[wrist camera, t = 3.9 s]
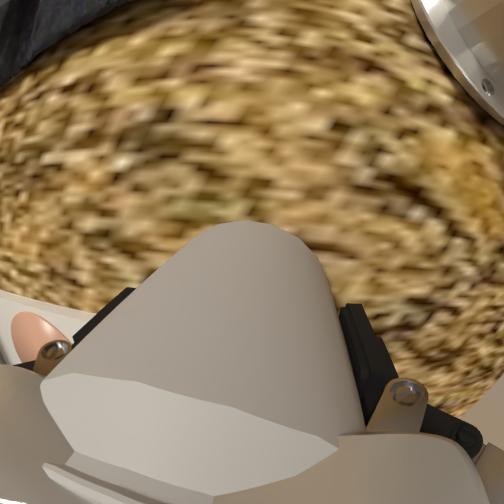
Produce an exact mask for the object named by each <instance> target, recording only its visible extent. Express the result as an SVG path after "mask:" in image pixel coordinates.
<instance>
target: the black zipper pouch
mask: <svg viewBox="0 0 504 504" xmlns="http://www.w3.org/2000/svg"><path fill="white" fill-rule="evenodd" d="M131 1H134V0H0V86H1V85H3V84H4V83H6V82H7V81H8V80H9V79H10V78H11V77H12V76H14V75H16V74H18V73H19V71H20V70H21V69H22V67H23V66H25V67H27V65H28V64H29V63H30V62H31V61H32V60H33V58H34V57H35V56H36V55H37V54H39V53H40V52H42V51H43V50H45V49H47V48H48V47H50V46H52V45H54V44H56V43H58V42H59V41H60V40H61V39H62V38H63V37H64V36H66V35H67V36H68V35H70V34H72V33H74V31H76V30H77V29H78V28H79V27H81V26H82V25H87V24H88V23H89V22H91V21H93V20H94V19H96V18H98V17H100V16H104V15H106V14H108V13H109V12H111V11H112V10H114V9H115V8H117V7H118V6H120V5H122V4H126V3H128V2H131Z"/></svg>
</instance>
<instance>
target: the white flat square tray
mask: <svg viewBox="0 0 504 504" xmlns="http://www.w3.org/2000/svg"><path fill="white" fill-rule="evenodd" d="M95 315H96V314H95V313H90V312H85V311H81V310H76V309H72V308H67V307H63V306H59V305H55V304H50V303H46V302H43V301H39V300H35V299H31V298H27V297H24V296H20V295H17V294H13V293H10V292H6V291H3V290H0V351H1V353H2V355H3V358H4V360H5V362H6V364H7V365H16V364H20V363H25V362H29V361H33V360H36V358H37V355H38V352H39V350H40V348H41V347H42V346H43V345H45V344H46V343H48V342H51V341H54V340H65V341H67V342H69V343H70V344H71V345H72V344H73V343H74V341H73V338H72V336H73V335H74V334H75V333H76V332H77V331H79V330H80V329H81V328H82V327H83V326H84V325H85V324H86V323H87V322H88V321H89V320H91V319H92V318H93V317H94V316H95Z"/></svg>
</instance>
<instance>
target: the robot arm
mask: <svg viewBox="0 0 504 504" xmlns="http://www.w3.org/2000/svg"><path fill="white" fill-rule="evenodd" d="M411 2H412V5H413V7H414V10H415V13H416V16H417V18H418V20H419V21H420V23H421V25H422V27H423V29H424V31H425V33H426V35H427V37H428V39H429V40H430V42H431V43H432V45H433V46H434V48H435V50H436V51H437V53H438V55H439V56H440V58H441V59H442V60H443V62H444V63H445V64H446V66H447V67H448V68H449V70H450V71H451V73H452V74H453V76H454V77H455V78H456V79H457V80H458V82H459V83H460V84H461V85H462V86H463V88H464V89H465V90H466V91H467V92H468V94H469V95H470V96H471V97H472V98H473V99H474V100H475V101H476V102H477V103H478V104H479V105H480V106H481V107H482V108H483V109H484V110H485V111H486V112H487V113H488V114H490V115H491V116H492V117H493V118H495V119H496V120H497V121H498V122H499V123H501V124H503V125H504V0H411ZM135 289H136V288H129V287H127V288H125V289H124V290H123V291H122V292H121V293H120V294H119V295H117V296H116V297H115V298H114V299H113V300H112V301H111V302H109V303H108V304H107V305H106V306H105V307H104V308H103V309H102V310H100V311H99V312H98V313H97V314H96V315H95V316H94V317H93V318H92V319H91V320H89V321H88V322H87V323H86V324H85V325H84V326H83V327H82V328H81V329H80V330H79V331H77V332H76V333H75V334H74V335H73V336H72V338H73V341H74V343H73V344H72V345H71V344H70V343H69V342H67V341H65V340H54V341H51V342H48V343H46V344H45V345H43V346H42V347H41V348H40V350H39V352H38V355H37V358H36V360H33V361H29V362H25V363H20V364H16V365H4V364H0V504H97V503H95V502H93V501H91V500H89V499H87V498H85V497H83V496H81V495H79V494H77V493H75V492H73V491H71V490H69V489H68V488H66V487H64V486H62V485H61V484H59V483H57V482H56V481H54V480H52V479H51V478H49V476H48V475H47V474H46V472H45V471H44V469H43V468H42V466H43V464H44V463H45V462H46V463H53V464H62V465H65V464H66V462H67V461H68V460H69V458H70V457H71V456H72V454H73V453H74V452H75V451H74V449H73V448H72V447H71V445H70V444H69V442H68V441H67V439H66V438H65V436H64V435H63V433H62V432H61V430H60V429H59V427H58V425H57V424H56V422H55V421H54V419H53V417H52V416H51V414H50V412H49V411H48V409H47V407H46V406H45V404H44V402H43V398H42V393H41V389H40V385H41V383H42V381H43V380H44V379H45V378H46V377H47V376H48V374H49V373H50V372H51V371H52V370H53V369H54V368H55V367H56V366H57V365H58V364H59V363H60V362H61V361H62V360H63V359H64V358H65V357H66V356H67V355H68V354H69V353H70V352H71V351H72V350H73V349H74V348H75V347H76V346H77V345H78V344H79V343H80V342H81V341H82V340H83V339H84V338H85V337H86V336H87V335H88V334H89V333H90V332H91V331H92V330H93V329H94V328H95V327H96V326H97V325H98V324H99V323H100V322H101V321H102V320H103V319H104V318H105V317H106V316H108V315H109V314H110V313H111V312H112V311H113V310H114V309H115V308H116V307H117V306H118V305H119V304H120V303H121V302H122V301H123V300H124V299H126V298H127V297H128V296H129V295H130V294H131V293H132V292H133V291H134V290H135ZM339 320H340V324H341V327H342V331H343V334H344V338H345V342H346V346H347V349H348V353H349V357H350V361H351V365H352V369H353V373H354V377H355V382H356V386H357V390H358V394H359V399H360V403H361V408H362V412H363V417H364V422H365V427H366V432H350V433H344V434H341V435H338V442H339V449H338V450H337V451H335V452H334V453H332V454H331V455H329V456H328V457H326V458H325V459H323V460H321V461H320V462H318V463H316V464H315V465H313V466H312V467H310V468H308V469H306V470H305V471H303V472H301V473H299V474H298V475H296V476H293V477H290V478H286V479H283V480H280V481H276V482H273V483H269V484H265V485H262V486H258V487H254V488H250V489H246V490H242V491H238V492H233V493H228V494H223V495H217V496H214V497H213V503H212V504H504V451H503V450H501V449H499V448H498V447H496V446H494V445H493V444H491V443H488V444H487V445H485V444H483V438H482V435H481V433H480V431H479V430H478V429H477V428H476V427H474V426H473V425H471V424H469V423H467V422H465V421H462V420H460V419H458V418H456V417H454V416H452V415H450V414H447V413H445V412H443V411H441V410H439V409H437V408H435V407H433V406H431V405H429V404H427V402H428V392H427V389H426V388H425V387H424V385H423V384H421V383H420V382H418V381H416V380H414V379H411V378H406V377H405V378H399V377H398V374H397V372H396V369H395V367H394V365H393V362H392V360H391V358H390V355H389V353H388V351H387V349H386V346H385V344H384V342H383V340H382V338H381V337H376V336H375V333H374V331H373V329H372V327H371V324H370V322H369V320H368V317H367V315H366V313H365V311H364V309H363V306H362V304H350V303H347V304H346V306H345V307H341V309H340V314H339Z"/></svg>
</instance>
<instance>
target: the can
mask: <svg viewBox="0 0 504 504" xmlns="http://www.w3.org/2000/svg"><path fill="white" fill-rule="evenodd" d="M40 389H41V393H42V398H43V402H44V404H45V406H46V407H47V409H48V411H49V412H50V414H51V416H52V417H53V419H54V421H55V422H56V424H57V425H58V427H59V429H60V430H61V432H62V433H63V435H64V436H65V438H66V439H67V441H68V442H69V444H70V445H71V447H72V448H73V449H74V451H75V452H74V453H73V454H72V456H71V457H70V458H69V460H68V461H67V462H66V464H65V465H62V464H53V463H46V462H45V463H44V464H43V466H42V468H43V469H44V471H45V472H46V474H47V475H48V476H49V478H51V479H52V480H54V481H56V482H57V483H59V484H61V485H62V486H64V487H66V488H68V489H69V490H71V491H73V492H75V493H77V494H79V495H81V496H83V497H85V498H87V499H89V500H91V501H93V502H95V503H97V504H212V503H213V497H214V496H217V495H223V494H228V493H233V492H238V491H242V490H246V489H250V488H254V487H258V486H262V485H265V484H269V483H273V482H276V481H280V480H283V479H286V478H290V477H293V476H296V475H298V474H299V473H301V472H303V471H305V470H306V469H308V468H310V467H312V466H313V465H315V464H316V463H318V462H320V461H321V460H323V459H325V458H326V457H328V456H329V455H331V454H332V453H334V452H335V451H337V450H338V449H339V442H338V435H341V434H344V433H350V432H366V427H365V422H364V417H363V412H362V408H361V403H360V399H359V394H358V390H357V386H356V382H355V377H354V373H353V369H352V365H351V361H350V357H349V353H348V349H347V346H346V342H345V338H344V334H343V331H342V327H341V324H340V320H339V316H338V313H337V309H336V306H335V303H334V299H333V296H332V292H331V289H330V286H329V282H328V280H327V277H326V275H325V273H324V271H323V268H322V266H321V264H320V262H319V260H318V258H317V256H316V255H315V254H314V253H313V252H312V251H311V250H310V249H309V248H308V247H307V246H306V245H305V244H304V243H303V242H302V241H301V240H300V239H299V238H298V237H296V236H294V235H292V234H290V233H288V232H286V231H284V230H282V229H281V228H279V227H277V226H275V225H271V224H266V223H260V222H254V221H248V220H243V221H236V222H230V223H223V224H218V225H216V226H214V227H212V228H210V229H208V230H206V231H204V232H202V233H201V234H199V235H197V236H195V237H194V238H193V239H192V240H190V241H189V242H188V243H187V244H186V245H185V246H184V247H182V248H181V249H180V250H179V251H178V252H177V253H175V254H174V255H173V256H172V257H171V258H170V259H169V260H168V261H166V262H165V263H164V264H163V265H162V266H161V267H160V268H158V269H157V270H156V271H155V272H154V273H153V274H152V275H151V276H150V277H148V278H147V279H146V280H145V281H144V282H143V283H142V284H141V285H140V286H139V287H137V288H136V289H135V290H134V291H133V292H132V293H131V294H130V295H129V296H128V297H127V298H126V299H124V300H123V301H122V302H121V303H120V304H119V305H118V306H117V307H116V308H115V309H114V310H113V311H112V312H111V313H110V314H109V315H108V316H106V317H105V318H104V319H103V320H102V321H101V322H100V323H99V324H98V325H97V326H96V327H95V328H94V329H93V330H92V331H91V332H90V333H89V334H88V335H87V336H86V337H85V338H84V339H83V340H82V341H81V342H80V343H79V344H78V345H77V346H76V347H75V348H74V349H73V350H72V351H71V352H70V353H69V354H68V355H67V356H66V357H65V358H64V359H63V360H62V361H61V362H60V363H59V364H58V365H57V366H56V367H55V368H54V369H53V370H52V371H51V372H50V373H49V374H48V376H47V377H46V378H45V379H44V380H43V381H42V383H41V385H40Z"/></svg>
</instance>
